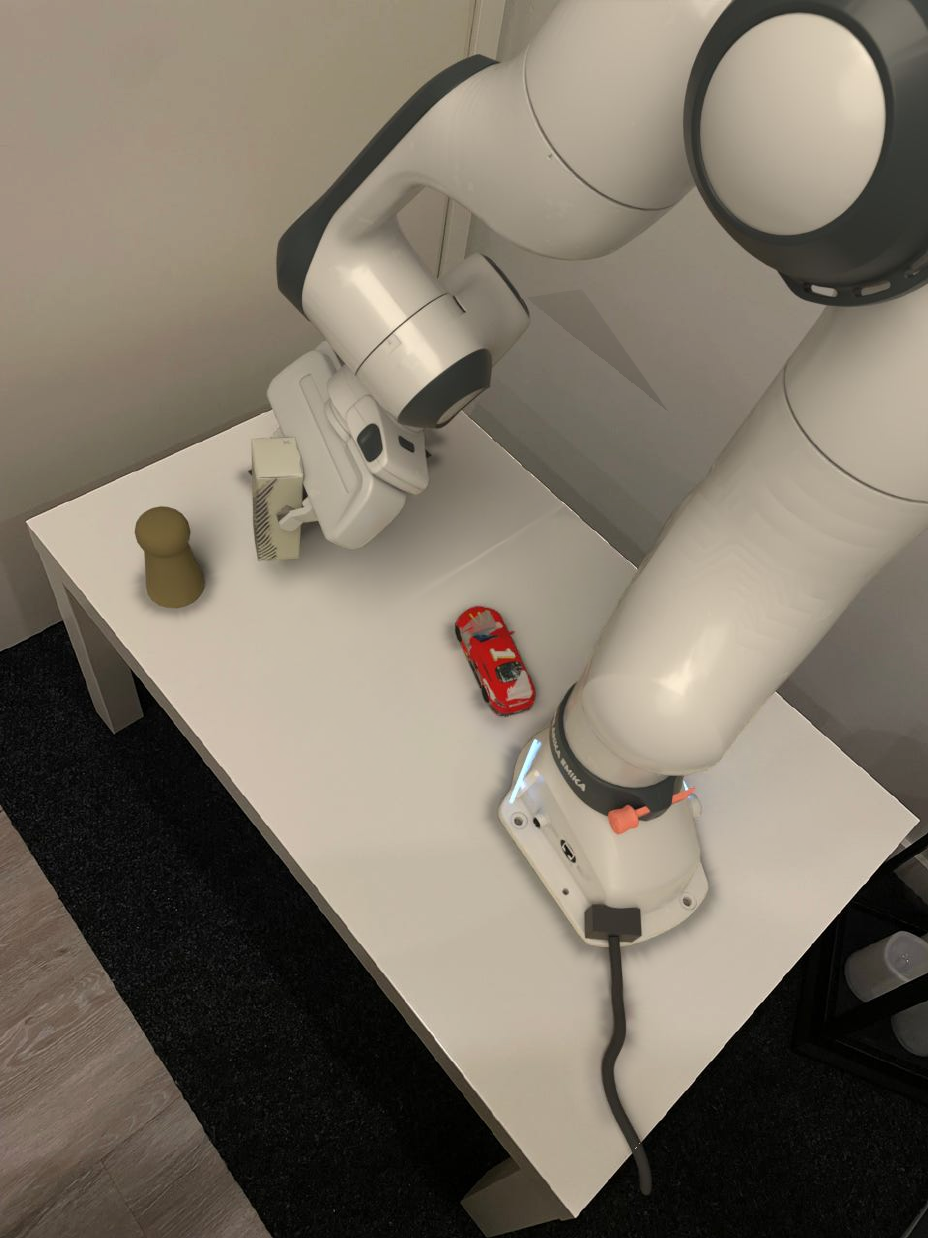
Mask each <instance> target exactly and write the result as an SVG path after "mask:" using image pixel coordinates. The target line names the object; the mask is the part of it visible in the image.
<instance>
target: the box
mask: <svg viewBox="0 0 928 1238" xmlns="http://www.w3.org/2000/svg"><path fill="white" fill-rule="evenodd" d="M250 445H251V470H252V475H251V484H252V488H251V489H252V490H251V491H252V527H253V536H254V537H253V538H254V545H255V551H256V557H257V562H270V561H271V562H275V561H286V560H287V561H288V560H293V559H295V560H296V559H297V560H298V559H299V558H300V555H301V534H302V525H300V526H299V527H298V528H296V529H295V530H294V531H291V532H288V531H286V530H283V529H281V528H280V525H279V523H278V520H277V517H276V514H277V513H278V512H281V510H282V508H283V507H285V506H286V505H288V506H290V507H292V508H293V509H294V508H295V509H299V508H302V501H303V480H304V474H303V466H302V460H301V455H300V450H299V447H298V444H297V441H296V438H295V437H277V438H272V437H263V438H262V437H261V438H252V439H251V440H250Z"/></svg>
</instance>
